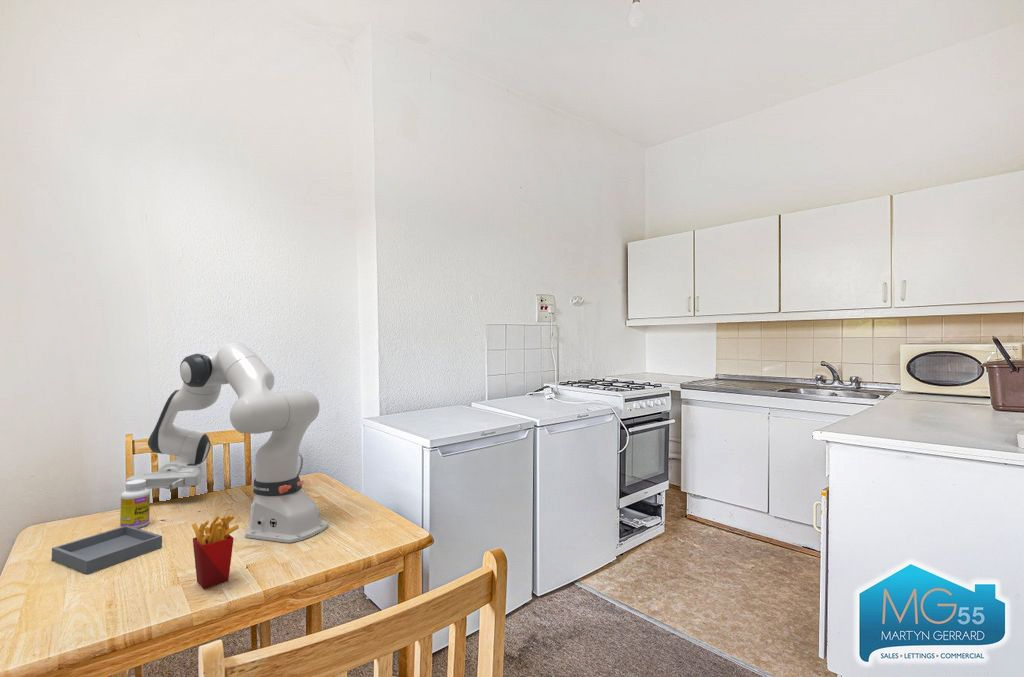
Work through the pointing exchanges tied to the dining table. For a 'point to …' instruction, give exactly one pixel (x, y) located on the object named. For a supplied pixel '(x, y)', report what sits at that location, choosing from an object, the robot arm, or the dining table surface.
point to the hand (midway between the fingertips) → (154, 487)
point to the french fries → (213, 551)
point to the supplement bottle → (135, 504)
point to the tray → (106, 549)
